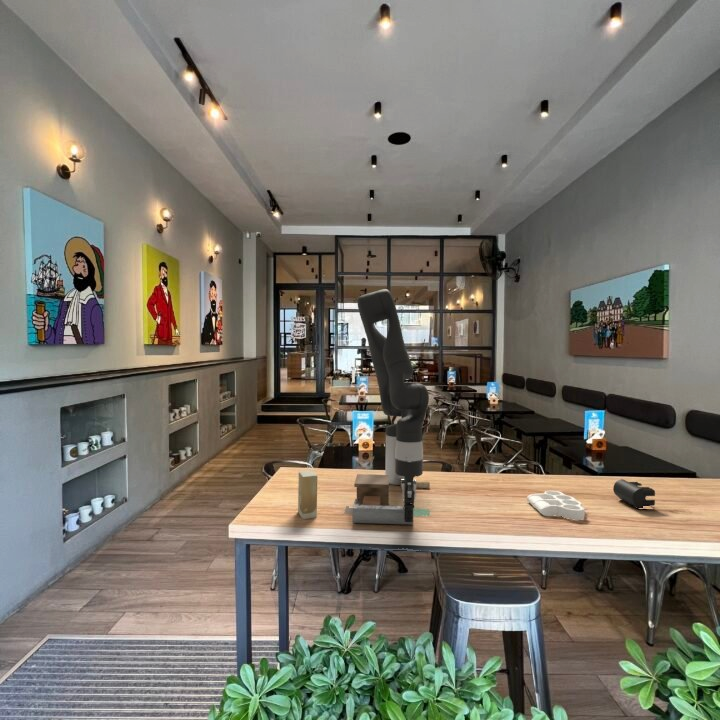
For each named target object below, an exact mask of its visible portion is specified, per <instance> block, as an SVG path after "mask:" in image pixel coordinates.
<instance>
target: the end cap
mask: <svg viewBox="0 0 720 720" xmlns="http://www.w3.org/2000/svg"><path fill="white" fill-rule="evenodd" d="M613 493H614V494H615V496H617V498H618V499H619V500H621V499H622V500H621V501H623V500H624V501H623V502H625V503H626V504H628V503H629V504H628V505H630V504H631V505H630V506H632V505H633V506H632V507H634V506H635V508H636V507H637V508H636V509H638V508H643V506H651V507H653V506H655V505H656V501H655V499H646V498H647V497H656V491H655V490H654V489H653V488H651V487H650V486H643V484H642V483H640V482H638V481H628V480H625V479H623V478H620V479H619V480H616V482H614V485H613Z"/></svg>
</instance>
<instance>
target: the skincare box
mask: <svg viewBox="0 0 720 720" xmlns="http://www.w3.org/2000/svg"><path fill="white" fill-rule="evenodd" d="M297 491H298V493H297V494H298V497H297V498H298V500H297V501H298V502H297V512H298V514H299V516H300V517H301V519H302V520H304V519H305V520H306V519H313V518H317V517H318V475H317V473H316V472H315V471H314V470H313V469H308V470H299V471H298V490H297Z"/></svg>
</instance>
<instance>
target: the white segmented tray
mask: <svg viewBox="0 0 720 720" xmlns="http://www.w3.org/2000/svg"><path fill="white" fill-rule="evenodd" d="M526 501H527V502H529V503H530V504H531V505H532V506H533V508H535V509H536V510H537V511H538V512H539V513H540V514H541V515H543V516H544V517H553V516H552V515H558V516H557V517H559V516H563V517H565V518H569V519H575V520H581V519H584V520H585V511H586V510H587V508H586V507H584V506H583V505H582V504H583V503H582V502H581V501H579V500H577V499H576V497H573V496H571V495H567V494H565V493H563V492H561V491H558V490H545V491H544V492H543V493H531V494H529V495H528V496H526ZM565 518H564V519H565Z"/></svg>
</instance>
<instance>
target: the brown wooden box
mask: <svg viewBox="0 0 720 720" xmlns="http://www.w3.org/2000/svg"><path fill="white" fill-rule="evenodd" d="M353 485H354V486H353V487H354V488H356V499H360V505H363V498H364V496H381V497H380V506H390V505H389V503H390V484H389V475H385V474H370V473H369V474H368V473H367V474H365V473H362V474H361V473H360V474H359V473H357V474H356V477H355V481H354V483H353Z"/></svg>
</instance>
